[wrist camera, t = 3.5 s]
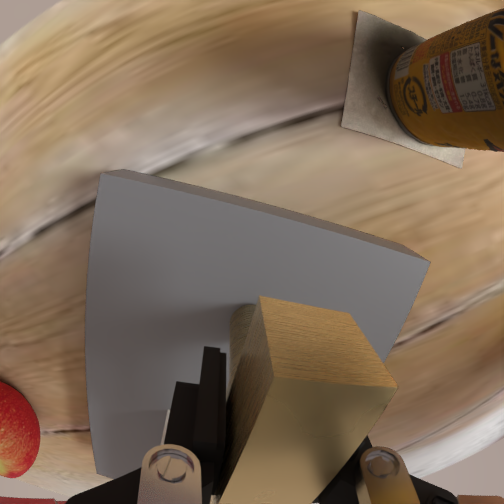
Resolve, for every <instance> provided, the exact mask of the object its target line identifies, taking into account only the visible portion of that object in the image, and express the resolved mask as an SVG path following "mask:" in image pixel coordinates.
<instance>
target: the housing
mask: <svg viewBox="0 0 504 504" xmlns="http://www.w3.org/2000/svg"><path fill="white" fill-rule="evenodd" d="M429 265H430V261H428V260H427V259H425V258H423V257H422V256H420V255H419V254H417V253H415V252H414V251H412V250H410V249H409V248H407V247H405V246H404V245H401V244H398V243H395V242H392V241H389V240H386V239H383V238H380V237H376V236H373V235H370V234H367V233H364V232H361V231H357V230H354V229H351V228H348V227H344V226H341V225H338V224H334V223H331V222H328V221H324V220H321V219H318V218H314V217H311V216H307V215H304V214H300V213H297V212H293V211H290V210H286V209H283V208H279V207H276V206H272V205H268V204H265V203H261V202H257V201H253V200H250V199H246V198H242V197H238V196H234V195H231V194H227V193H223V192H219V191H215V190H211V189H207V188H203V187H199V186H195V185H190V184H186V183H182V182H178V181H174V180H169V179H165V178H161V177H156V176H152V175H147V174H143V173H138V172H134V171H129V170H124V169H122V170H116V171H111V172H105V173H101V175H100V180H99V186H98V192H97V198H96V204H95V211H94V218H93V225H92V233H91V241H90V251H89V261H88V273H87V288H86V311H85V364H86V386H87V401H88V412H89V422H90V431H91V439H92V446H93V453H94V460H95V466H96V471H97V474H100V475H103V476H106V477H109V478H112V479H116V478H119V477H121V476H123V475H125V474H128V473H130V472H132V471H134V470H136V469H138V468H140V467H142V461H143V459H144V456H145V454H146V453H147V452H148V451H149V450H150V449H152V448H154V447H156V446H160V445H161V440H162V435H163V430H164V425H165V420H166V415H167V411H168V410H170V409H171V404H172V399H173V394H174V389H175V385H176V382H177V381H179V382H186V383H194V384H199V383H200V375H201V366H202V358H203V350H204V346H209V347H217V348H220V352H223V353H226V354H227V356H226V389H227V386H228V382H229V337H230V319H231V316H232V314H233V313H234V312H235V311H236V310H237V309H239V308H240V307H242V306H245V305H251V304H253V305H256V304H257V301H258V298H259V295H260V296H265V297H270V298H275V299H280V300H284V301H289V302H294V303H299V304H305V305H310V306H315V307H320V308H325V309H331V310H336V311H341V312H347V313H350V315H351V316H352V318H353V319H354V321H355V322H356V324H357V325H358V327H359V328H360V330H361V331H362V332H363V334H364V335H365V337H366V338H367V340H368V341H369V343H370V344H371V346H372V347H373V349H374V350H375V352H376V353H377V355H378V356H379V358H380V359H381V361H382V362H383V363H384V362H385V360H386V358H387V356H388V354H389V352H390V350H391V348H392V346H393V345H394V343H395V341H396V339H397V337H398V335H399V333H400V331H401V329H402V327H403V324H404V322H405V320H406V318H407V316H408V314H409V312H410V310H411V307H412V305H413V303H414V301H415V298H416V296H417V294H418V292H419V289H420V287H421V285H422V282H423V280H424V277H425V275H426V272H427V270H428V267H429Z"/></svg>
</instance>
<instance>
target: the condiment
mask: <svg viewBox="0 0 504 504" xmlns="http://www.w3.org/2000/svg"><path fill="white" fill-rule="evenodd" d="M402 47H404V49H403V48H402ZM378 97H380V98H381V99H382V102H380V101H379V100H378ZM383 104H386V106H387V107H386V108H385V107H384V106H383ZM341 127H344V128H348V129H351V130H355V131H359V132H362V133H365V134H368V135H372V136H375V137H378V138H381V139H384V140H387V141H390V142H393V143H396V144H399V145H402V146H404V147H407V148H410V149H412V150H415V151H418V152H420V153H423V154H426V155H428V156H431V157H434V158H436V159H438V160H441V161H444V162H446V163H448V164H451V165H453V166H456V167H458V168H461V169H462V165H463V159H464V153H465V148H468V149H477V150H484V151H485V150H492V151H496V152H497V151H502V152H504V8H503V9H500V10H497V11H494V12H492V13H489V14H486V15H484V16H482V17H479V18H477V19H474V20H471V21H469V22H466V23H464V24H462V25H460V26H457V27H455V28H452V29H450V30H448V31H446V32H443V33H441V34H439V35H436V36H435V37H432V38H430V39H428V40H426V39H424V38H422V37H420V36H418V35H417V34H415V33H413V32H411V31H409V30H406V29H404V28H401V27H400V26H397V25H394V24H392V23H390V22H387V21H385V20H383V19H381V18H379V17H377V16H375V15H372V14H369V13H366V12H363V11H361V10H359V12H358V21H357V24H356V32H355V39H354V46H353V52H352V59H351V67H350V72H349V79H348V88H347V94H346V98H345V106H344V112H343V118H342V124H341Z"/></svg>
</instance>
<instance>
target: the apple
mask: <svg viewBox="0 0 504 504" xmlns="http://www.w3.org/2000/svg"><path fill="white" fill-rule="evenodd" d="M39 446H40V427H39V422H38V419H37V416H36V414H35V412H34V410H33V409H32V407H31V406H30V404H29V403H28V401H27V400H26V399H25V398H24V397H23V396H22V395H21V394H20V393H19V392H18V391H17V390H16V389H14V388H12V387H11V386H9V385H7V384H5V383H3V382H0V475H1V476H4V477H8V478H16V477H19V476H21V475H23V474H24V473H25V472H26V471H27V470H28V469H29V468H30V467H31V466H32V464H33V463H34V461H35V459H36V457H37V454H38V451H39Z"/></svg>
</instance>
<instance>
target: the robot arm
mask: <svg viewBox="0 0 504 504" xmlns="http://www.w3.org/2000/svg"><path fill="white" fill-rule="evenodd" d="M226 356H227V354H226V353H223V352H220V348H217V347H209V346H204V350H203V358H202V366H201V375H200V383H199V384H194V383H186V382H179V381H177V382H176V385H175V389H174V394H173V399H172V404H171V409H170V414H169V419H168V424H167V430H166V435H165V440H164V445H160V446H156V447H154V448H152V449H150V450H149V451H148V452H147V453H146V454H145V456H144V459H143V461H142V467H140V468H138V469H136V470H134V471H132V472H130V473H128V474H125V475H123V476H121V477H119V478H116V479H114V480H112V481H109V482H107V483H105V484H102V485H100V486H97V487H95V488H92V489H90V490H87V491H85V492H82V493H79V494H77V495H75V496H73V497H71V498H70V499H68V501H56V500H55V499H36V498H35V499H33V498H13V497H1V496H0V504H210V500H211V495H214V494H215V492H216V490H217V487H218V482H219V477H220V471H221V466H222V461H223V455H224V450H225V441H226ZM312 503H319V504H504V498H502V497H500V496H472V495H458V496H457V497H455V496H454V495H453V494H452V493H451V492H449V491H447V490H445V489H442V488H440V487H437V486H435V485H433V484H430V483H428V482H425V481H423V480H421V479H419V478H416V477H414V476H412V475H410V474H409V473H408V471H407V468H406V466H405V463H404V461H403V459H402V458H401V456H400V455H399V454H398V453H397V452H395V451H393V450H392V449H390V448H386V447H372V445H371V443H370V440H369V438H368V436H366V437H365V438H364V440H363V441H362V443H361V444H360V445H359V447H358V448H357V449H356V451H355V452H354V453H353V454H352V456H351V457H350V458H349V460H348V461H347V462H346V463H345V465H344V466H343V467H342V468H341V470H340V471H339V472H338V473H337V474H336V476H335V477H334V478H333V479H332V480H331V482H330V483H329V484H328V485H327V486H326V487H325V489H324V490H323V491H322V492H321V493H320V494H319V495H318V496H317V497H316V499H315V500H314V501H313V502H312Z"/></svg>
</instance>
